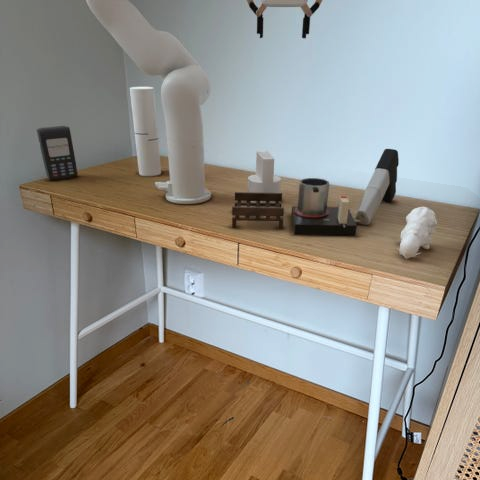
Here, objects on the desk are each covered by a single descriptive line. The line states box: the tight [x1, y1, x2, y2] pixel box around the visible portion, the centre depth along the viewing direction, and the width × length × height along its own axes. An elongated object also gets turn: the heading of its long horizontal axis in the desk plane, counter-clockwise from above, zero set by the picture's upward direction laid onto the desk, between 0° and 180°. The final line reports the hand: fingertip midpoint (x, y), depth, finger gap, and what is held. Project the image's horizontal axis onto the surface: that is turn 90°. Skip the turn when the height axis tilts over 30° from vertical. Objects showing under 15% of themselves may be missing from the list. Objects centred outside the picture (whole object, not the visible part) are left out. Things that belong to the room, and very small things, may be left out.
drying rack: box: [231, 191, 285, 230], centre depth 113 cm, size 12×12×5 cm
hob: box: [290, 205, 360, 237], centre depth 110 cm, size 15×14×3 cm
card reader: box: [36, 125, 78, 181], centre depth 141 cm, size 9×4×15 cm, turn 123°
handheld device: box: [355, 148, 400, 226], centre depth 118 cm, size 4×22×15 cm
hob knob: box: [337, 195, 350, 224], centre depth 106 cm, size 4×2×5 cm, turn 177°
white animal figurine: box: [397, 206, 438, 260], centre depth 96 cm, size 6×8×12 cm
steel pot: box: [297, 177, 330, 216], centre depth 110 cm, size 7×9×7 cm
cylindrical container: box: [129, 86, 162, 177], centre depth 144 cm, size 7×7×25 cm
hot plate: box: [294, 207, 329, 218], centre depth 112 cm, size 8×8×1 cm
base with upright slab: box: [247, 150, 282, 203], centre depth 124 cm, size 9×9×12 cm
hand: (282, 38), depth 104 cm, fingers open, 9 cm apart
